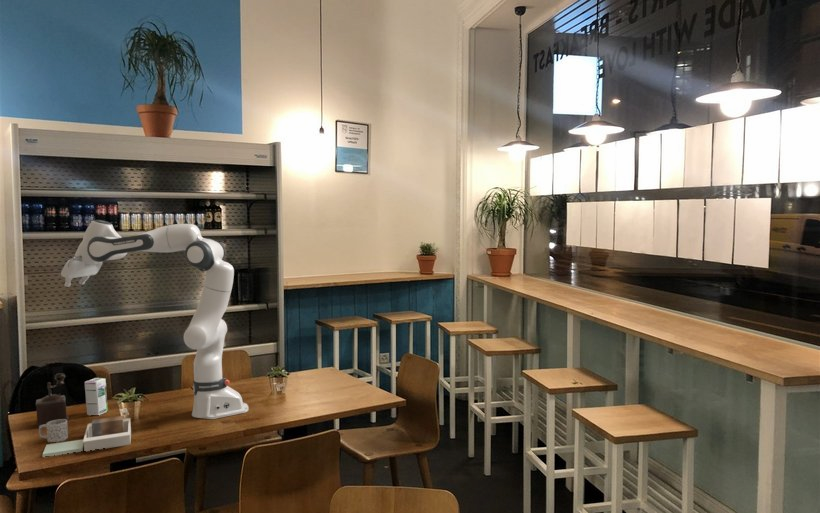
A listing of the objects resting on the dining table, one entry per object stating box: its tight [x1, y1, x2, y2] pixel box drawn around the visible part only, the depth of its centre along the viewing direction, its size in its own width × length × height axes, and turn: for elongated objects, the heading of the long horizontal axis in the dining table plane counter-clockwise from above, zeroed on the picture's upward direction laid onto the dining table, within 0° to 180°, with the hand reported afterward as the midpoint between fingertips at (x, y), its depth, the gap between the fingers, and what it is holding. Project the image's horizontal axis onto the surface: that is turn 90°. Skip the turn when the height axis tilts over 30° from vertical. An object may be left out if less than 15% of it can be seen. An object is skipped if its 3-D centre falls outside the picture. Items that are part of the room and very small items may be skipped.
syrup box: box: [84, 377, 109, 416], centre depth 258 cm, size 6×6×14 cm
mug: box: [38, 419, 69, 443], centre depth 228 cm, size 10×7×7 cm, turn 92°
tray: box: [83, 417, 132, 452], centre depth 224 cm, size 15×21×4 cm
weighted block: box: [91, 415, 124, 437], centre depth 224 cm, size 10×5×8 cm, turn 114°
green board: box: [42, 438, 84, 458], centre depth 217 cm, size 12×10×1 cm
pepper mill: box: [35, 372, 70, 429], centre depth 250 cm, size 16×11×18 cm
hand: (74, 285), depth 257 cm, fingers open, 8 cm apart
